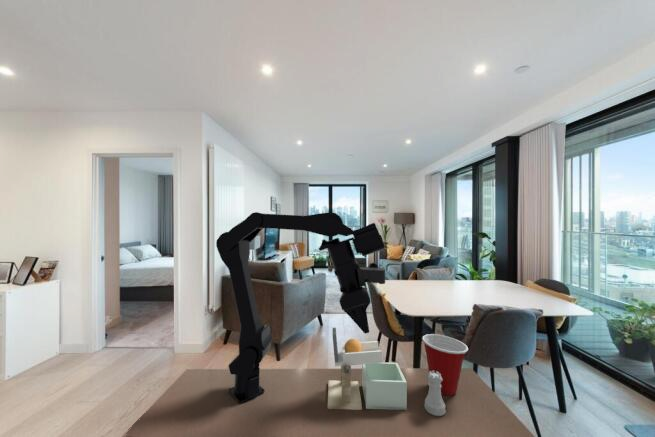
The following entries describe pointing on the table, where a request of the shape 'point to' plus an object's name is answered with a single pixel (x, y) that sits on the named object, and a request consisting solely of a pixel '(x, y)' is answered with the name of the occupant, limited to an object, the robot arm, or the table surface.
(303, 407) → the table surface
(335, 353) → the chute
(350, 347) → the ball
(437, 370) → the plastic cup
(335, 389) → the stand
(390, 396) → the pale green open box
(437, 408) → the rook chess piece
